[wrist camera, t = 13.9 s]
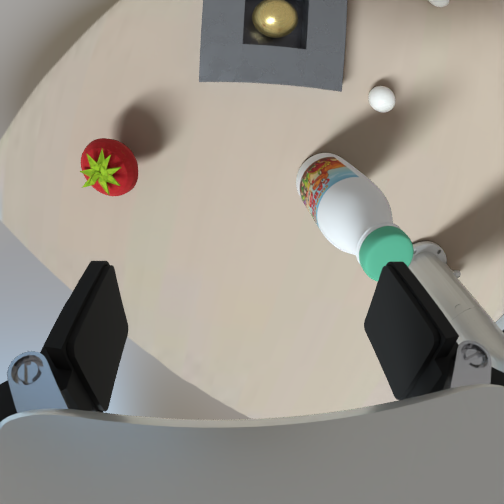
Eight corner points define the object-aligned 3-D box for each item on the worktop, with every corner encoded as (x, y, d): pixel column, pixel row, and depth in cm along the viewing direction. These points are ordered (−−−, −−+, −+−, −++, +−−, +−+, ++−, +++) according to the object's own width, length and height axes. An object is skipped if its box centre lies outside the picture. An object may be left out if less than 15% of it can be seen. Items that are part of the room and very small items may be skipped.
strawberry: (130, 190, 39) (105, 222, 30) (90, 154, 36) (55, 177, 27) (159, 158, 37) (138, 183, 28) (117, 120, 34) (84, 133, 25)
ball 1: (388, 88, 34) (401, 89, 31) (386, 112, 36) (398, 116, 33) (365, 83, 33) (377, 84, 30) (362, 108, 35) (374, 111, 32)
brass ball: (295, 6, 28) (302, -5, 24) (293, 42, 30) (300, 35, 26) (252, 3, 28) (253, -9, 23) (250, 39, 30) (251, 31, 26)
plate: (339, -21, 26) (347, -27, 23) (333, 90, 34) (341, 91, 31) (208, -34, 24) (207, -43, 22) (201, 81, 33) (199, 81, 30)
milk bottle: (348, 148, 38) (435, 208, 21) (351, 201, 42) (424, 287, 25) (291, 156, 38) (345, 225, 21) (298, 210, 42) (346, 307, 25)
